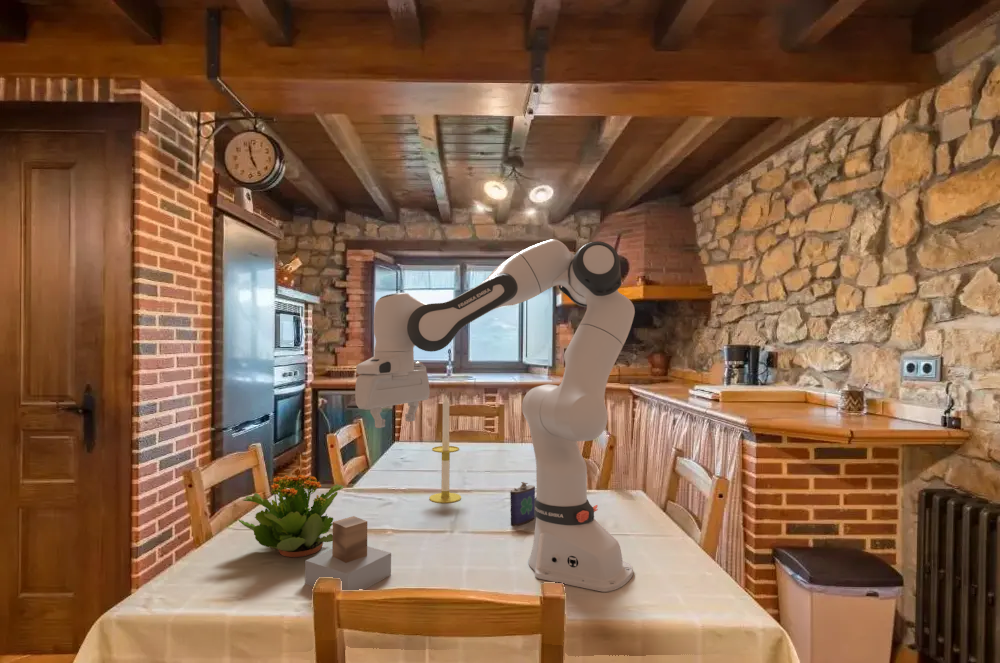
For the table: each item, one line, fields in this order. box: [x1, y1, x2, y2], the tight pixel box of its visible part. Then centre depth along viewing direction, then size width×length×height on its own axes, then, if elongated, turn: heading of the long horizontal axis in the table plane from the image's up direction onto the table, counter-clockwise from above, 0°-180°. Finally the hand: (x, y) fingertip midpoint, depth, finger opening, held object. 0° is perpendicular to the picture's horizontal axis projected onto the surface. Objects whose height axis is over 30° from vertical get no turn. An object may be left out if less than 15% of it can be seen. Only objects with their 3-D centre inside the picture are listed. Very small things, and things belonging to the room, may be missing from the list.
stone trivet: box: [304, 545, 392, 590], centre depth 110 cm, size 12×12×5 cm
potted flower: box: [237, 474, 345, 558], centre depth 125 cm, size 25×24×18 cm
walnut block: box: [332, 515, 368, 563], centre depth 111 cm, size 5×5×7 cm
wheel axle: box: [429, 394, 462, 504], centre depth 167 cm, size 10×10×32 cm
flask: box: [509, 481, 536, 527], centre depth 146 cm, size 9×3×11 cm, turn 138°
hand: (395, 424), depth 123 cm, fingers open, 8 cm apart
